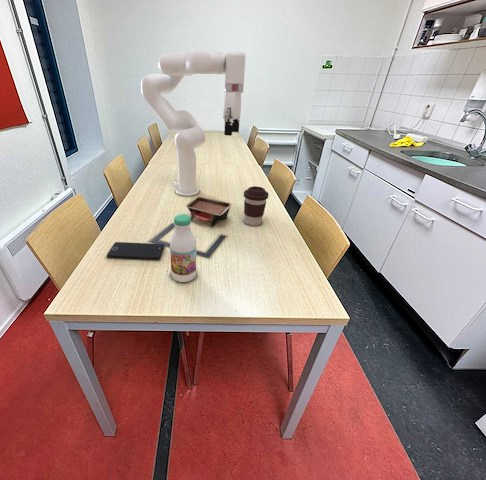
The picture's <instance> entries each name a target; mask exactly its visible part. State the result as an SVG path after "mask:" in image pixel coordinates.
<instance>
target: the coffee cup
mask: <svg viewBox="0 0 486 480" xmlns="http://www.w3.org/2000/svg"><path fill="white" fill-rule="evenodd" d="M269 196H270V195H269V192H268V191H266V189H265V188H264V187H261V186H258V185H257V186H254V185H253V186H249V187H248V188H247V189H245V190H244V191H243V197H244V200H243V201H244V203H243V214H244V216H243V218H244V219H243V221H244V224H246V225H248V226H253V227H255V226H260V225H261V224H262V221H263V216H264V214H265V210H266V205H267V200H268V199H269Z"/></svg>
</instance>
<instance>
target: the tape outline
mask: <svg viewBox="0 0 486 480" xmlns="http://www.w3.org/2000/svg"><path fill="white" fill-rule="evenodd" d="M173 228H175V225H174V222H173V223H171V224H170V225H169V226H167V227H166V228H165V229H163V230H162V231H161V232H159V234H157V235H156V236H155V237H154V238H153V239H151V240H150V241H149V242H150V243H152V244H164V247H168V248H170V242H166V241H162V240H160V239H162V238H163V237H164V236H165V235H166V234H168V232H170V231H171V230H172V229H173ZM225 238H226V235H223V234H221V235H219V237H218V238H217V239H216V241H215V242H214V243H213V244H212V245H211V246H210V248H208V250H207V251H206V252H204V251H199V250H196V256H200V257H204V258H210V257H211V255H212V254H214V252H215V250H216V249H217V248H218V247H219V245H220V244H221V243H222V242H223V241H224V239H225Z"/></svg>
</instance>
